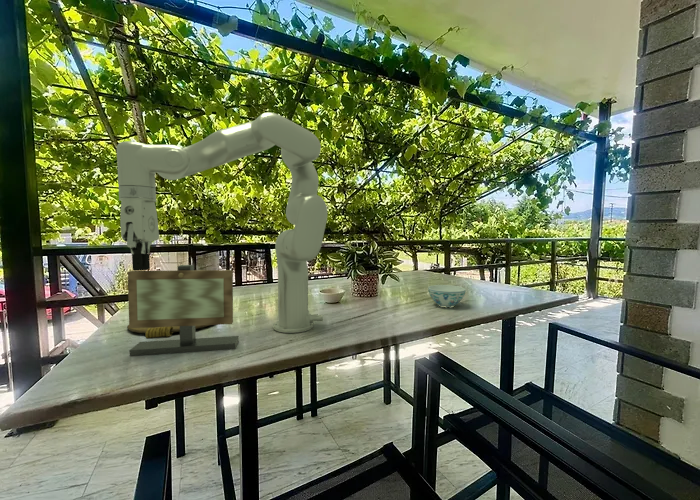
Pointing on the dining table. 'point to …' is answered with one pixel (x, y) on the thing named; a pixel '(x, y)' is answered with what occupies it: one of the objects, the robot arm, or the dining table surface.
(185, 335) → the frame post
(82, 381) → the dining table surface
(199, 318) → the picture frame
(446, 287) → the chinaware
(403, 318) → the dining table surface
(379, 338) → the dining table surface
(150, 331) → the decorative disc
